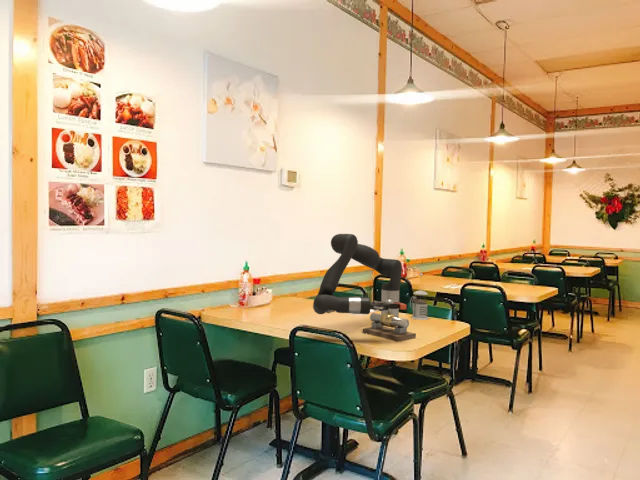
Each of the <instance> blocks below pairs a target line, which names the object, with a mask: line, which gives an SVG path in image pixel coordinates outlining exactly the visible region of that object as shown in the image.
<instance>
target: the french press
mask: <svg viewBox="0 0 640 480" xmlns="http://www.w3.org/2000/svg"><path fill="white" fill-rule="evenodd" d="M423 275H424V273H421V272H420V273H419V276H420V277H422V276H423ZM414 295H415V296H414ZM416 295H417V296H420V297H419V298H420V299H416ZM427 295H429V294H428V292H426V291H424V290H422V289H420V290H416V291H414V292H413V296H412V297H411V298H410V301H409V305H410V307H411V308H412V316H410V318H411V319H413V320H419V321H426V320H429V317H428V303H427V302H428V301H427V300H425V299H421V296H427ZM412 298H413V299H412ZM411 301H412V302H411Z"/></svg>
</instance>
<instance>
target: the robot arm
mask: <svg viewBox="0 0 640 480" xmlns="http://www.w3.org/2000/svg"><path fill="white" fill-rule="evenodd" d="M330 246H331V248H332V250H333V252H335V253H336V254H339V257H338V258H337V260H336V261H335V262H334V263H333V264H332V265H331V266H330V267H329V268H328V269H327V270H326V272H325V274H324V276H323V279H322V281H321V283H320V286H319V289H318V290H319V291H318V293H317V296H315V297H314V298H313V304H312V309H313V311H314V312H315V313H316V314H318V315H324V314H325V313H328V312H327V311H328V310H332V312H333V311H335V312H336V313H338V314H352V315H370V313H371V310H373V311H374V312H376V311H377V312H380V314H383V313H388V310H389V309H391V314H393V315H397V317H398V318H400V317H399V316H400V315H399V314H400V312H399V311H400V309H398V304H395V303H387V302H386V300H387V299H391V300H393V302H400V288H401V284H402V270H403V265H402V262H401V261H400V260H399V259H394V258H393V259H392V258H385V257H384V258H383V257H381V256H380V254H379V252H378V251H377V250H376V249H374V248H372V247H371V246H368V245H364V244H362V243H361V244H360V243H359V241H358V237H357V236H356V235H355V234H353V233H337V234H335V235H333V237H332V238H331V240H330ZM351 260H354V261H355V262H357V263H359V264H361V265H363V266H365V267H367V268H370V269H372V270H374V271H376V272H377V273H378V274H380V275H381V276H384V277H387V278H388V277H389V278H390V279H389V281H387V282H385V283H383V284H382V285H381V297H380V298H381V301H379V300H372V301H371V298H370V297H369V296H336V295H334V294H335V292H336V290H337V288H338V286H339V285H338V284H339V283H340V280H341V278H342V275H343V274H344V271H345V270H346V268H347V266H348V265H349V263H350V261H351Z"/></svg>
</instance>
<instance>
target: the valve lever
mask: <svg viewBox="0 0 640 480" xmlns="http://www.w3.org/2000/svg"><path fill="white" fill-rule="evenodd" d="M386 302H387V303H395V304H398V309H399V310H407V304H406V303H402V302H400V301H399V302H393V300H391V299H387V300H386Z"/></svg>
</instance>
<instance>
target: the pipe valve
mask: <svg viewBox="0 0 640 480" xmlns="http://www.w3.org/2000/svg"><path fill="white" fill-rule="evenodd" d="M369 320H370V321H371V326H370V327H371V329H376V330H377V329H382V328H383V326H384V327H388V328H393V329H395V334H398V335H402V334H407V332H408V327H409V326H410V321H409V320H408V319H407V318H402V317H399V318H398V317H397V315H393V314H391V309H389V310H388V313H383V314H381V313H375V312H371V314H369Z"/></svg>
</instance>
